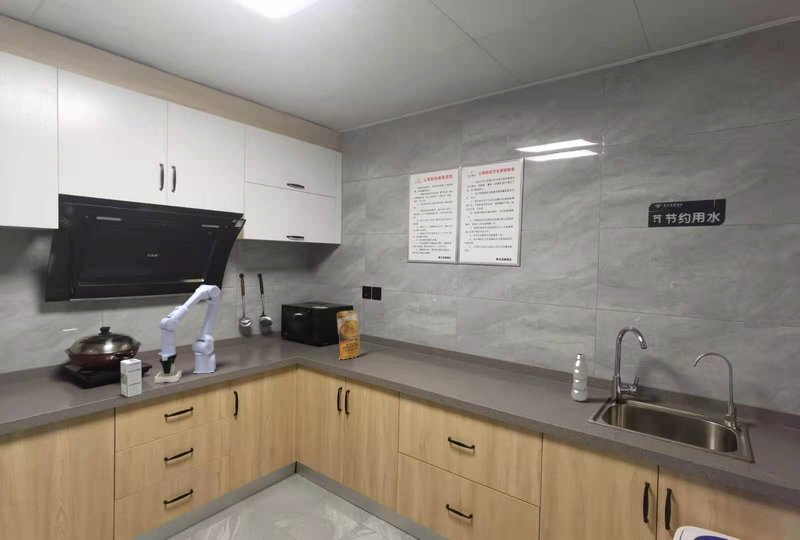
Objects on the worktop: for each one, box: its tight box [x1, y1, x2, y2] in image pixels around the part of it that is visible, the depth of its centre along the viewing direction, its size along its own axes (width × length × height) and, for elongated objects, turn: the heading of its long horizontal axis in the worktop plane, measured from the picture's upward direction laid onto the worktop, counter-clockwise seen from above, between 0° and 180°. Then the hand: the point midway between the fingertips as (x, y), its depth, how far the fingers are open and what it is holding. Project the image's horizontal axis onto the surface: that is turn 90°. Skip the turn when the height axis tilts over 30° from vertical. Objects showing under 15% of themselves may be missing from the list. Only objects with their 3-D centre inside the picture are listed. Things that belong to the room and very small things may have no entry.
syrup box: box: [120, 358, 143, 398], centre depth 171 cm, size 6×6×14 cm
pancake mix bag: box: [336, 309, 361, 361], centre depth 240 cm, size 7×19×28 cm, turn 139°
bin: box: [154, 370, 182, 384], centre depth 191 cm, size 9×9×3 cm
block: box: [161, 362, 176, 377], centre depth 191 cm, size 4×4×6 cm
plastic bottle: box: [570, 353, 589, 402], centre depth 175 cm, size 6×7×20 cm
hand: (168, 371), depth 191 cm, fingers open, 5 cm apart
